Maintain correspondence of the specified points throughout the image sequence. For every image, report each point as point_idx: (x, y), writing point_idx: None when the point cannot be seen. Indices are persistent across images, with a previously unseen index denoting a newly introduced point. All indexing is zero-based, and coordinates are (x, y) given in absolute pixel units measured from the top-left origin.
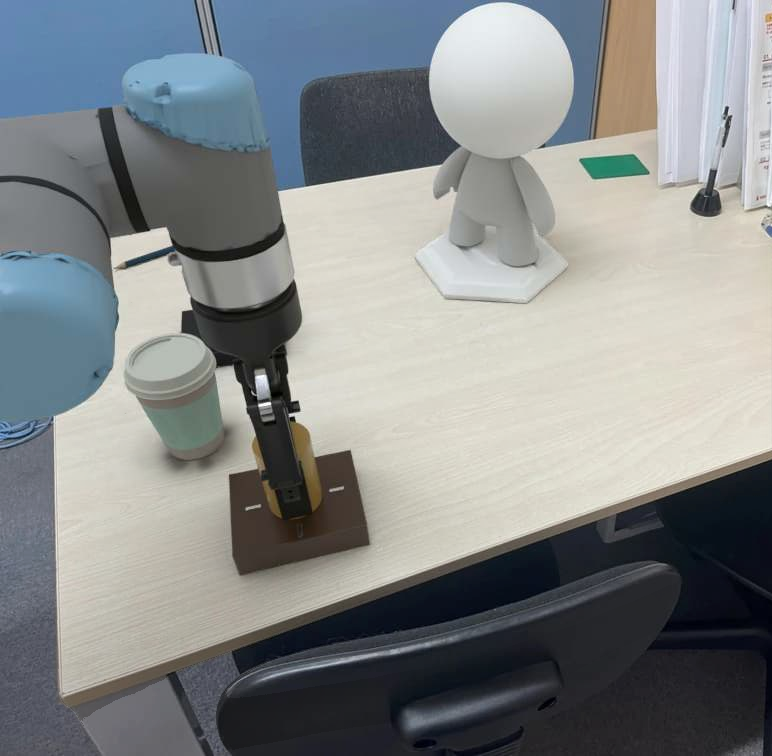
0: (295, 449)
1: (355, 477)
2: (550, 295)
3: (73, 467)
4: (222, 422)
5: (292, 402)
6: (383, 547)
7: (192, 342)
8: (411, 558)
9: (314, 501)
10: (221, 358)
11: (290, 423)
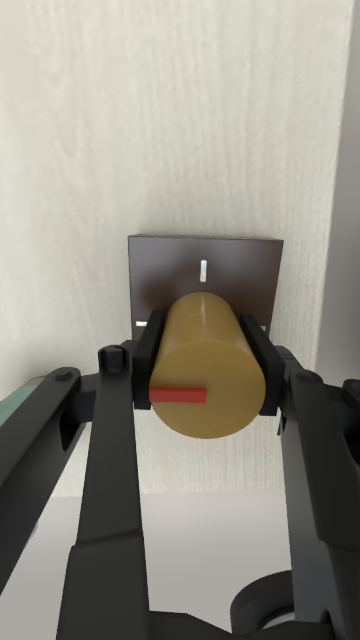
0: (328, 410)
1: (188, 239)
2: None
3: (71, 490)
4: (35, 387)
5: (101, 364)
6: (281, 221)
7: None
8: (315, 187)
9: (230, 308)
10: None
11: (310, 453)
